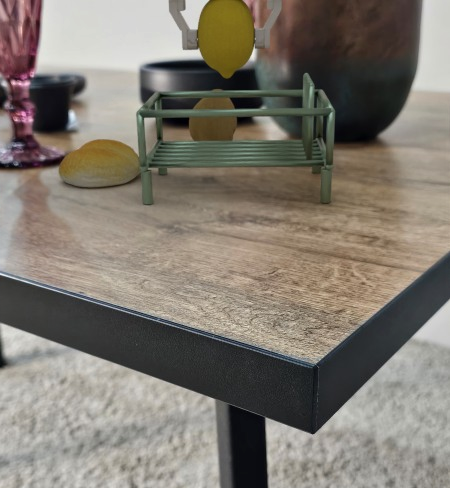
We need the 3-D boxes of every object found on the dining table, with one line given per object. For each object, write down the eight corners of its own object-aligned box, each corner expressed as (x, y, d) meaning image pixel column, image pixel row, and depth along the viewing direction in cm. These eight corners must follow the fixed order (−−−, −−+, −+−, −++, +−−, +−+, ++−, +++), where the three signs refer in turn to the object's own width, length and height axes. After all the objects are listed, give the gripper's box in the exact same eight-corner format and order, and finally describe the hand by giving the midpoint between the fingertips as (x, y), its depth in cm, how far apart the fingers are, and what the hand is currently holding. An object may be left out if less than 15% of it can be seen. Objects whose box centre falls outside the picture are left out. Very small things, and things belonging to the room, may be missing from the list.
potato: (197, 167, 85) (195, 95, 82) (179, 154, 92) (177, 87, 89) (254, 161, 87) (254, 91, 84) (233, 149, 94) (232, 84, 91)
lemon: (249, 74, 75) (248, -12, 72) (260, 80, 70) (260, -11, 67) (195, 76, 74) (192, -10, 71) (202, 82, 69) (200, -10, 66)
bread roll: (49, 188, 77) (44, 149, 76) (84, 168, 85) (80, 133, 84) (123, 191, 76) (120, 152, 74) (151, 171, 84) (149, 135, 82)
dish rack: (140, 205, 71) (133, 88, 66) (158, 172, 83) (153, 72, 79) (332, 204, 70) (337, 86, 66) (321, 171, 82) (324, 69, 78)
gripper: (337, -114, 68) (331, 44, 74) (117, -108, 69) (127, 48, 75) (344, -123, 62) (337, 49, 68) (103, -117, 63) (116, 53, 69)
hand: (225, 49), depth 71 cm, fingers closed on lemon, 5 cm apart
